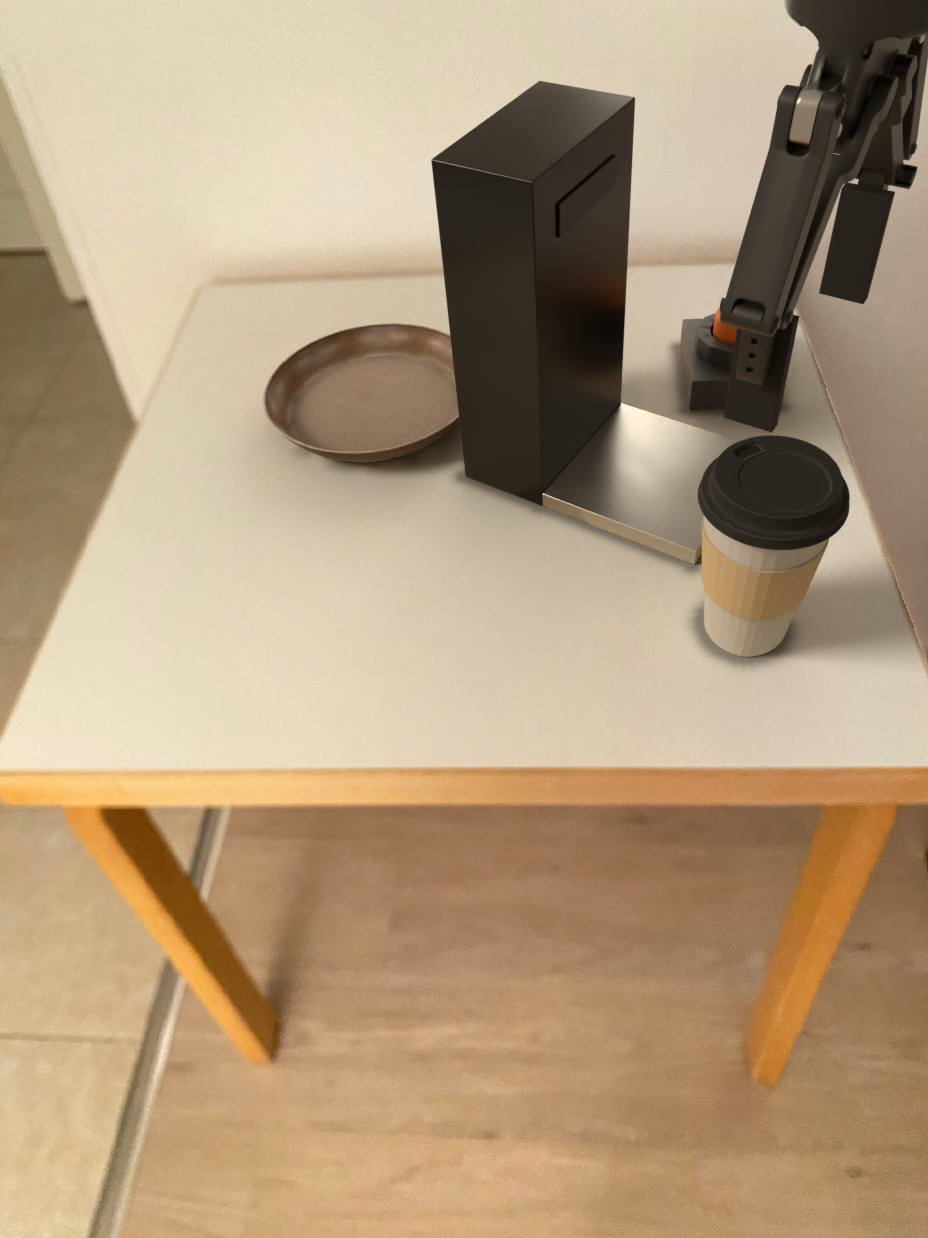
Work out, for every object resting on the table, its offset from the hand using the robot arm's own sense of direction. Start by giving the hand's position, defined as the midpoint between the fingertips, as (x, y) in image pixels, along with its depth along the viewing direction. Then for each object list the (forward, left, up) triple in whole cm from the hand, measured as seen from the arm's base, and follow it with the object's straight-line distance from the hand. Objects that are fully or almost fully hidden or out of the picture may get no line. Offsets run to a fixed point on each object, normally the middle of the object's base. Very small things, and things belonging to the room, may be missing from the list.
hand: (799, 355), depth 55 cm
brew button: (+14, -28, -19) cm, 36 cm away
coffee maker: (+17, -10, -23) cm, 31 cm away
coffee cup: (0, +1, -24) cm, 24 cm away
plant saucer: (+41, -7, -24) cm, 48 cm away
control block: (+14, -27, -23) cm, 39 cm away
